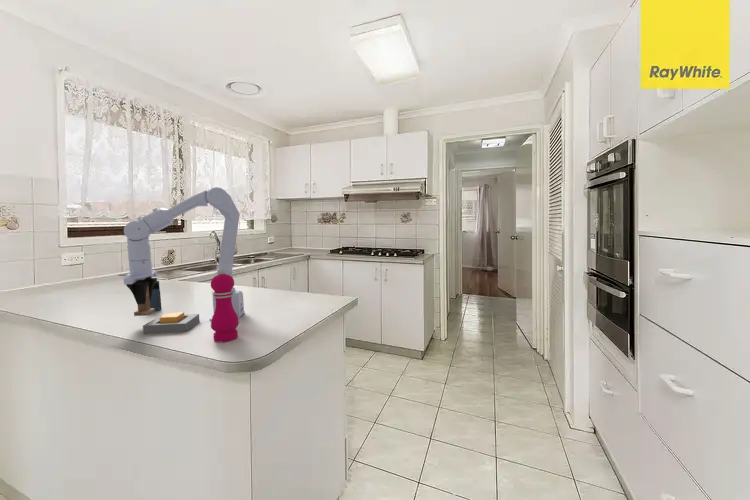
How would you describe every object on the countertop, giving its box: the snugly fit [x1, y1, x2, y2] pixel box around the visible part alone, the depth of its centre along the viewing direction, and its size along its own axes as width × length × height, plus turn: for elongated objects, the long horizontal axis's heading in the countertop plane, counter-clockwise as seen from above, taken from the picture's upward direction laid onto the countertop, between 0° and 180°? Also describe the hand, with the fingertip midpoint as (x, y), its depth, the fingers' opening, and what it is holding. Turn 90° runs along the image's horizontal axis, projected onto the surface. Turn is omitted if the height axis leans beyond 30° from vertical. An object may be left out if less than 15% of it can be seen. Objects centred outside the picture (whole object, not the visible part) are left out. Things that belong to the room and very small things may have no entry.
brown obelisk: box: [133, 285, 156, 317], centre depth 102 cm, size 4×4×10 cm
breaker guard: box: [142, 313, 201, 335], centre depth 102 cm, size 12×10×2 cm
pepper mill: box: [210, 269, 240, 343], centre depth 91 cm, size 7×7×20 cm
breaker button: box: [159, 311, 185, 323], centre depth 102 cm, size 5×5×2 cm
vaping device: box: [150, 280, 163, 312], centre depth 122 cm, size 3×5×12 cm, turn 79°
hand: (144, 302), depth 103 cm, fingers closed on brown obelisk, 2 cm apart
